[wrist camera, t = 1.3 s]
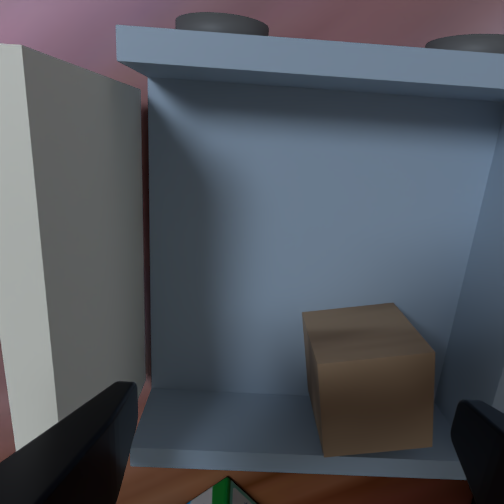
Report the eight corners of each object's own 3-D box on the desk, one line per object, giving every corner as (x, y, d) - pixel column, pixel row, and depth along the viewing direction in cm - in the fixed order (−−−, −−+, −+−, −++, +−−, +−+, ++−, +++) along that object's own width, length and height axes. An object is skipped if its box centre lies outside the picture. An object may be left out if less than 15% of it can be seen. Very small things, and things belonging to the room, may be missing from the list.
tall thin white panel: (145, 380, 20) (72, 562, 12) (122, 378, 20) (31, 560, 12) (140, 89, 16) (21, 45, 8) (111, 87, 16) (-42, 39, 8)
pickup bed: (432, 414, 23) (486, 498, 18) (158, 401, 23) (131, 484, 17) (518, 58, 17) (634, 27, 12) (155, 31, 17) (114, -13, 12)
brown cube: (393, 380, 21) (432, 447, 16) (308, 389, 21) (324, 457, 16) (393, 302, 19) (435, 352, 15) (301, 312, 19) (317, 364, 15)
